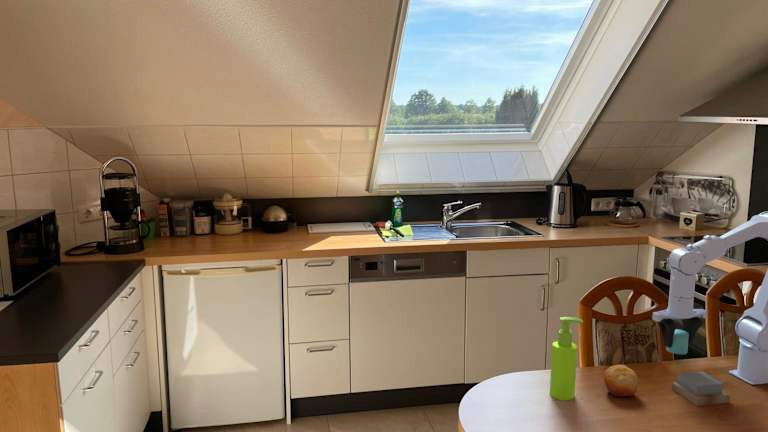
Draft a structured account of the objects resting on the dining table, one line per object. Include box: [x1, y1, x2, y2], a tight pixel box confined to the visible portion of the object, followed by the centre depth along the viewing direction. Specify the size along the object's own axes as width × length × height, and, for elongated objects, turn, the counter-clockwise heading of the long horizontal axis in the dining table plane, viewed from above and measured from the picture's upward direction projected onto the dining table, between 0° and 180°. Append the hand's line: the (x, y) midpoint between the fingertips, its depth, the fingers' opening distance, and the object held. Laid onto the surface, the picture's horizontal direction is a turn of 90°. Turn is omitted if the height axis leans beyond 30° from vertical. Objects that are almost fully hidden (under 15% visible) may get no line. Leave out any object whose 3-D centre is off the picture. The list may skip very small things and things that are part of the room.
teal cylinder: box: [665, 328, 689, 355], centre depth 154 cm, size 5×5×5 cm
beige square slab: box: [671, 381, 731, 407], centre depth 147 cm, size 9×9×2 cm
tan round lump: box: [603, 364, 639, 398], centre depth 148 cm, size 8×8×8 cm
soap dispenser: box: [549, 316, 584, 401], centre depth 145 cm, size 6×7×20 cm
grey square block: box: [676, 371, 724, 395], centre depth 147 cm, size 7×7×2 cm
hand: (677, 345), depth 154 cm, fingers closed on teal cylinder, 5 cm apart
